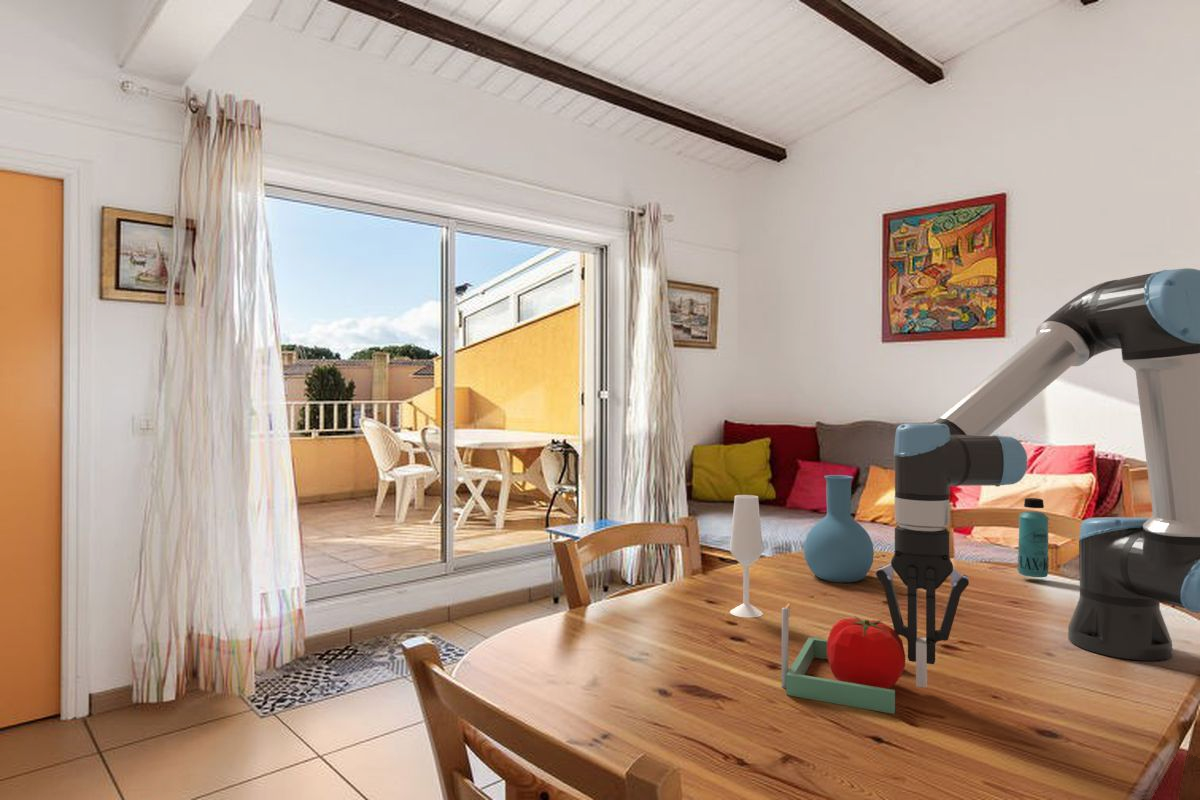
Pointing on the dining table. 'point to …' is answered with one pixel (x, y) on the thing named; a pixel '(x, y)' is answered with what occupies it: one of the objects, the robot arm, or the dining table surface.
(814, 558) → the vase
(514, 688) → the dining table surface
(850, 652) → the tomato
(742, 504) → the champagne flute
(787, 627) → the green u-shaped frame
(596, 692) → the dining table surface
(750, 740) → the dining table surface
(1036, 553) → the beverage bottle
